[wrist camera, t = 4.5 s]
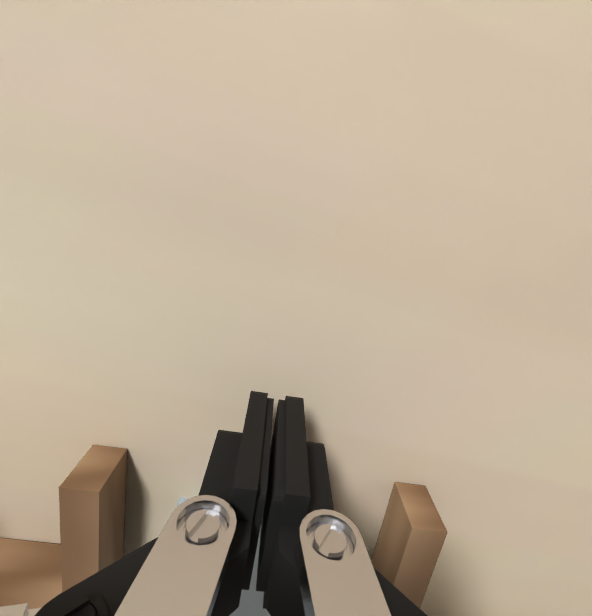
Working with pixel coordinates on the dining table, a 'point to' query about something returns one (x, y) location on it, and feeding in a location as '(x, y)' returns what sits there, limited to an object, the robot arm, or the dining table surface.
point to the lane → (110, 536)
